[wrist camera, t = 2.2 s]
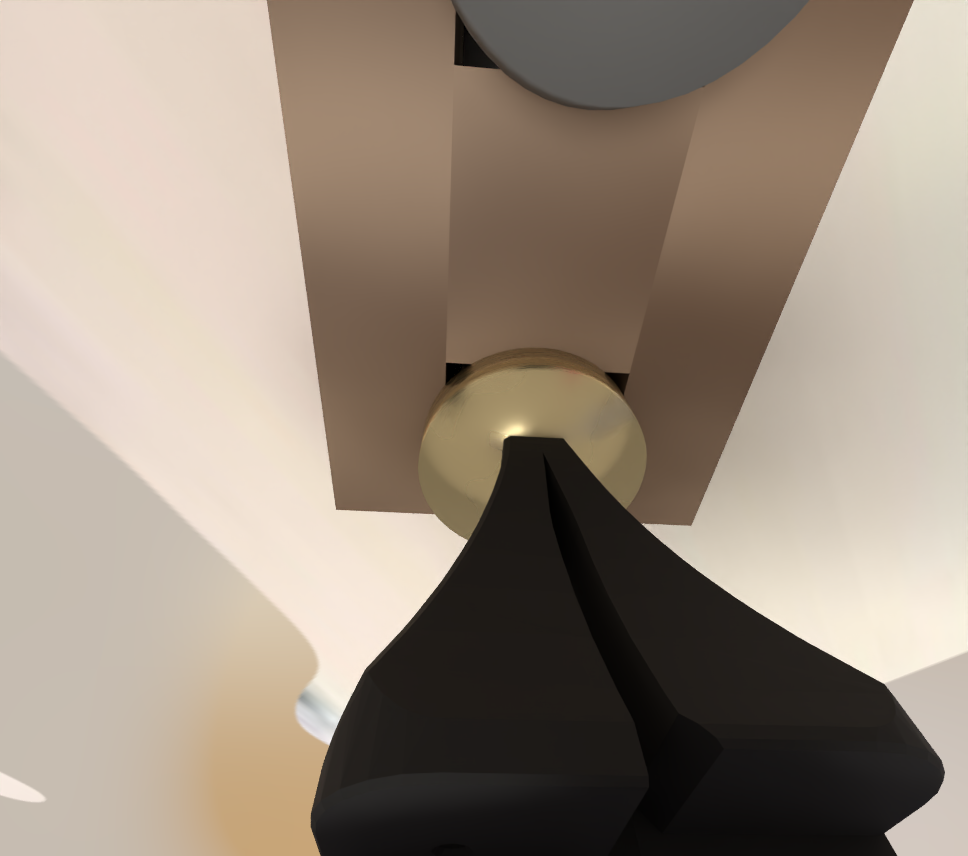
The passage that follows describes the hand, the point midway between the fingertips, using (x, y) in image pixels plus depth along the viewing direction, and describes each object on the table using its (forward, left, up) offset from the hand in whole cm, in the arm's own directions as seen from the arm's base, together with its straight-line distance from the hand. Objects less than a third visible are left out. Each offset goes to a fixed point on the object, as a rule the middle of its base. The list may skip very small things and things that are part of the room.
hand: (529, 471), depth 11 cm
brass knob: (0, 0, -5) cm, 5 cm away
